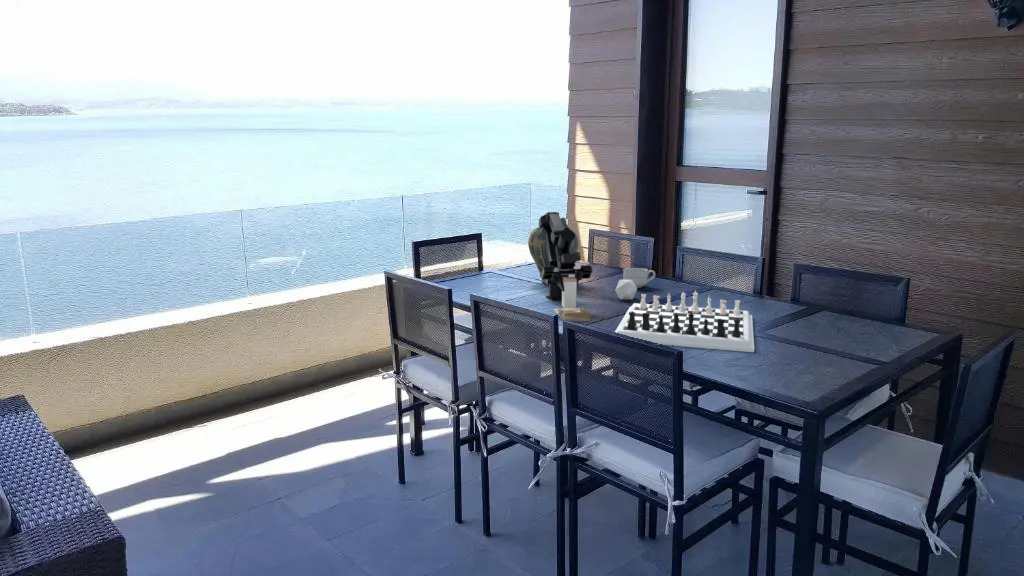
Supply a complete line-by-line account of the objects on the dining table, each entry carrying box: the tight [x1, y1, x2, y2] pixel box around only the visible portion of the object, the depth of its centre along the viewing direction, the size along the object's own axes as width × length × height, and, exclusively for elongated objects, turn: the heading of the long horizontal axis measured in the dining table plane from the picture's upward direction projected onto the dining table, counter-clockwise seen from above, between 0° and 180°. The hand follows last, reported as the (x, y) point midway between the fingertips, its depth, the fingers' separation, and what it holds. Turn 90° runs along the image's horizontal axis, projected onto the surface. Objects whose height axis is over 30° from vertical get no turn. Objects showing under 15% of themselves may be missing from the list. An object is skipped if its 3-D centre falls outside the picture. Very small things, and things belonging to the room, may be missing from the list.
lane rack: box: [553, 307, 592, 322], centre depth 280 cm, size 19×10×4 cm, turn 8°
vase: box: [527, 217, 579, 284], centre depth 337 cm, size 22×22×30 cm
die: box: [614, 279, 638, 300], centre depth 308 cm, size 8×9×10 cm
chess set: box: [614, 290, 755, 353], centre depth 263 cm, size 45×45×11 cm
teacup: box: [622, 267, 656, 289], centre depth 331 cm, size 14×11×8 cm
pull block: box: [561, 276, 578, 309], centre depth 284 cm, size 4×4×11 cm
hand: (570, 291), depth 282 cm, fingers closed on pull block, 4 cm apart
